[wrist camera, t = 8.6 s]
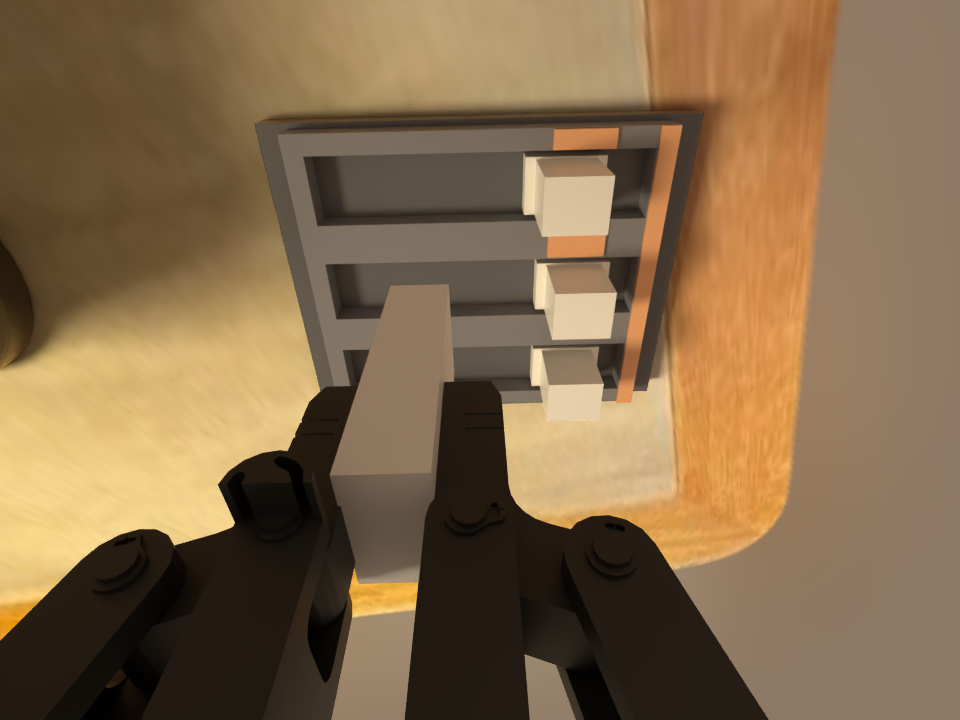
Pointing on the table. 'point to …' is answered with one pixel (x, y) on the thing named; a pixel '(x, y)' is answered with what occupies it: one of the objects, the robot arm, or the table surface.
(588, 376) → the tab back
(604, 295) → the tab mid
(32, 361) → the table surface
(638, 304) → the slotted block puzzle
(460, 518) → the robot arm
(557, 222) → the tab front
